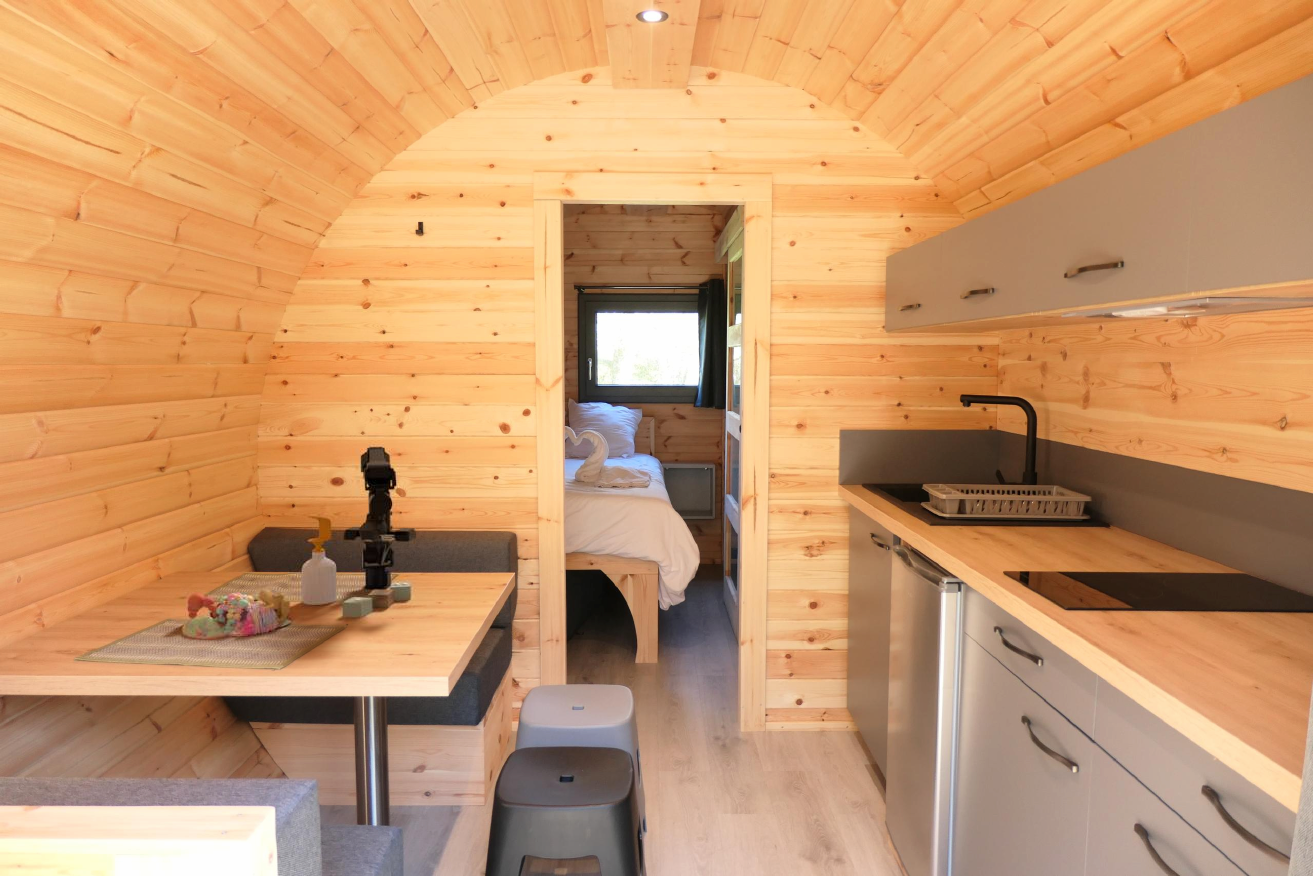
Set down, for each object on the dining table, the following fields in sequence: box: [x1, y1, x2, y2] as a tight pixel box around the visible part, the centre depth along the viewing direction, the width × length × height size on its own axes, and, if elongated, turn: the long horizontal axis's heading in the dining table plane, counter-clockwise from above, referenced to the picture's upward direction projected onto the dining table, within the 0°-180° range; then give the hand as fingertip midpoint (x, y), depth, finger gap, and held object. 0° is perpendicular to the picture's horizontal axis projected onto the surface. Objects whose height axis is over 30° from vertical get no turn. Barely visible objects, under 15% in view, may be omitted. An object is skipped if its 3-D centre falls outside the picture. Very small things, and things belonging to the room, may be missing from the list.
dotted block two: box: [389, 581, 412, 601], centre depth 242 cm, size 6×6×4 cm
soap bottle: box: [301, 515, 338, 606], centre depth 237 cm, size 9×9×25 cm
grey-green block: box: [342, 596, 373, 619], centre depth 225 cm, size 6×6×4 cm
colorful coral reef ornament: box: [181, 589, 292, 640], centre depth 214 cm, size 25×24×9 cm
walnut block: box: [367, 589, 395, 609], centre depth 234 cm, size 6×6×4 cm
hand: (380, 564), depth 233 cm, fingers closed
